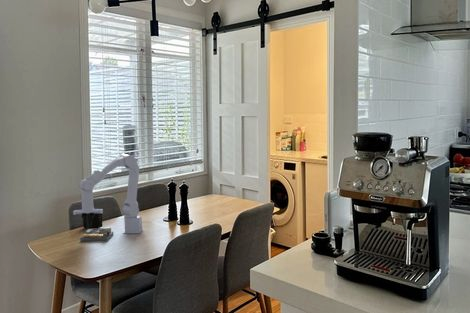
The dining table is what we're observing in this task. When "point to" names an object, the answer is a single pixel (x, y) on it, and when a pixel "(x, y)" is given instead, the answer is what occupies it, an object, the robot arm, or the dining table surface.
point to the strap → (94, 235)
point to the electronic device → (95, 221)
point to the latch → (89, 231)
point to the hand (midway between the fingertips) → (89, 227)
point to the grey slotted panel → (94, 239)
